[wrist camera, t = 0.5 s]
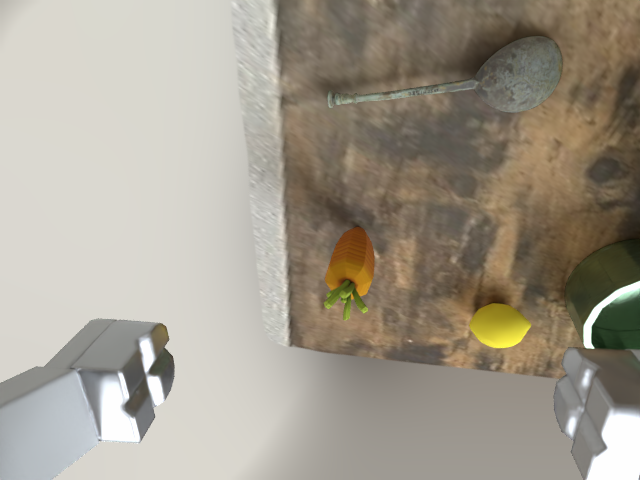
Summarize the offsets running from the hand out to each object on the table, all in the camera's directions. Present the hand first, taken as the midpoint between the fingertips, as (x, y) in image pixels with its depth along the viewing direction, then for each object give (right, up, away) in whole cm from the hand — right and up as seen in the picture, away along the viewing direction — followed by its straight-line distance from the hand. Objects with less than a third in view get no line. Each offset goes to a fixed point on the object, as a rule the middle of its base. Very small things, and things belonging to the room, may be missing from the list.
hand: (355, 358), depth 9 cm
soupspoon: (+11, +18, +35) cm, 41 cm away
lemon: (+22, -6, +47) cm, 53 cm away
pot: (+35, -3, +43) cm, 55 cm away
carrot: (+4, +4, +45) cm, 45 cm away
